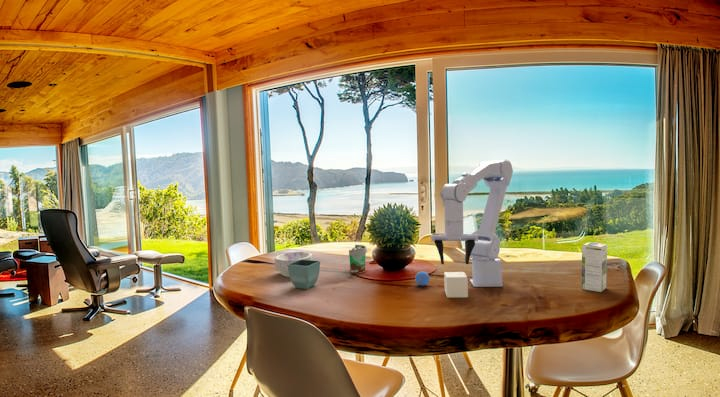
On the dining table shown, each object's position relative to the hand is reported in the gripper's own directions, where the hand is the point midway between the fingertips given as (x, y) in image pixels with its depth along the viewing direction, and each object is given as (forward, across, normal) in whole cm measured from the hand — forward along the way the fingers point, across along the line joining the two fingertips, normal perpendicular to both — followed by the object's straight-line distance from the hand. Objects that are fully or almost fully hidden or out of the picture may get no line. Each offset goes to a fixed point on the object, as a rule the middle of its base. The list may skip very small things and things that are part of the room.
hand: (454, 263), depth 121 cm
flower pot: (+11, -52, +9) cm, 54 cm away
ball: (+8, -10, +10) cm, 16 cm away
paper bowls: (+11, -61, +27) cm, 68 cm away
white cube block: (+10, 0, 0) cm, 10 cm away
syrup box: (+10, +44, +5) cm, 45 cm away
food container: (+10, -34, +30) cm, 47 cm away
